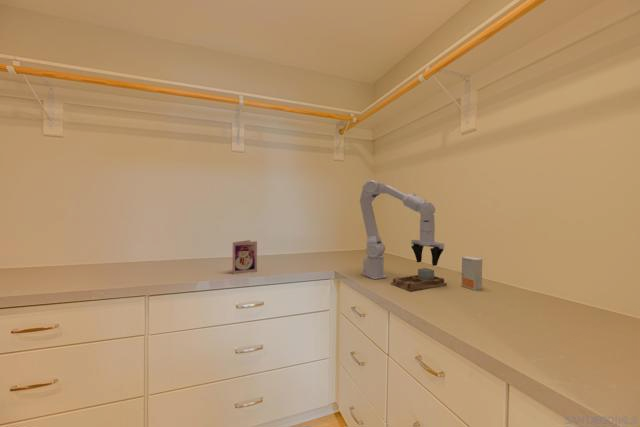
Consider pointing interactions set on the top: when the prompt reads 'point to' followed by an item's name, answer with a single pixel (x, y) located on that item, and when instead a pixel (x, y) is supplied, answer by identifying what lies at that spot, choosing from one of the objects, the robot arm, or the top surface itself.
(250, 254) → the greeting card
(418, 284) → the slot rack
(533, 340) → the top surface
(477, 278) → the skincare box
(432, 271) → the slate block
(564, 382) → the top surface
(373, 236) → the robot arm
